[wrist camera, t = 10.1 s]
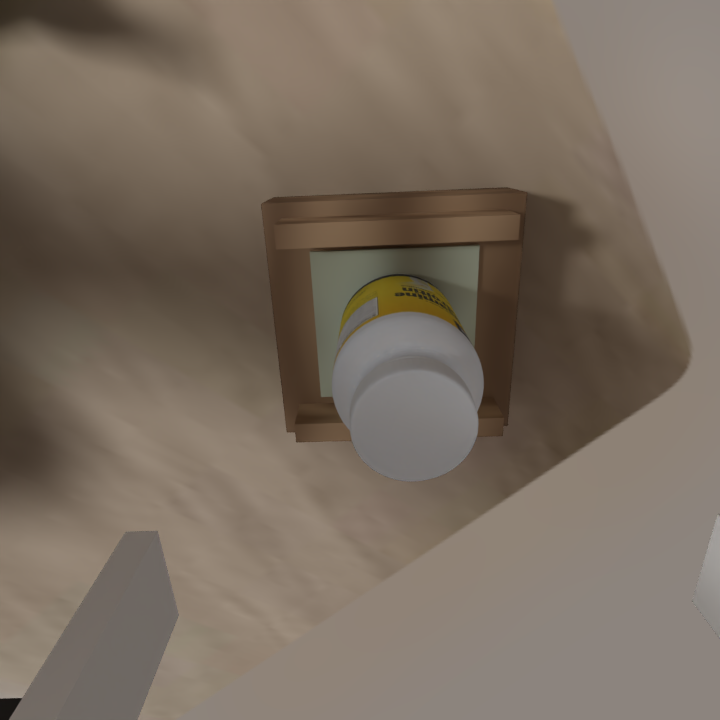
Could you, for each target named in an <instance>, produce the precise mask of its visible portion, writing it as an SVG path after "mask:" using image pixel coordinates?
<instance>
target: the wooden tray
mask: <svg viewBox="0 0 720 720" xmlns="http://www.w3.org/2000/svg"><path fill="white" fill-rule="evenodd" d="M526 200H527V192H523V191H519V190H515V189H511V188H483V189H460V190H436V191H413V192H389V193H365V194H342V195H318V196H295V197H274V198H272V199H270V200H268V201H266V202H264V203H262V204H261V208H262V216H263V225H264V234H265V243H266V252H267V261H268V270H269V278H270V287H271V296H272V305H273V314H274V323H275V332H276V341H277V349H278V358H279V367H280V376H281V385H282V394H283V403H284V412H285V420H286V429H287V432H295V434H296V442H323V441H352V439H351V435H350V430H349V429H348V428H347V427H346V425H345V424H344V423H343V421H342V420H341V418H340V416H339V414H338V412H337V409H336V407H335V403H334V400H333V395H332V374H333V366H334V361H335V355H336V349H337V343H338V337H339V332H340V325H341V320H342V316H343V313H344V310H345V308H346V306H347V304H348V302H349V300H350V299H351V298H352V296H353V295H354V294H355V293H356V292H357V291H358V290H359V289H360V288H361V287H362V286H363V285H365V284H366V283H368V282H370V281H371V280H373V279H376V278H378V277H381V276H384V275H389V274H409V275H413V276H417V277H420V278H422V279H425V280H426V281H428V282H430V283H431V284H433V285H434V286H435V287H437V288H438V289H439V290H440V291H441V292H442V293H443V294H444V296H445V297H446V298H447V300H448V302H449V303H450V305H451V307H452V308H453V311H454V312H455V314H456V316H457V318H458V320H459V322H460V324H461V325H462V327H463V329H464V331H465V333H466V334H467V336H468V338H469V340H470V341H471V343H472V345H473V347H474V349H475V350H476V352H477V355H478V357H479V360H480V363H481V366H482V370H483V378H484V389H483V396H482V400H481V404H480V406H479V409H478V411H477V413H478V434H477V437H487V436H503V426H508V414H509V402H510V390H511V379H512V367H513V355H514V343H515V331H516V319H517V307H518V295H519V283H520V271H521V259H522V248H523V236H524V224H525V212H526Z"/></svg>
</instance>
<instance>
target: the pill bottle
mask: <svg viewBox="0 0 720 720" xmlns="http://www.w3.org/2000/svg"><path fill="white" fill-rule="evenodd" d="M483 389H484V378H483V370H482V366H481V363H480V360H479V357H478V355H477V352H476V350H475V349H474V347H473V345H472V343H471V341H470V340H469V338H468V336H467V334H466V333H465V331H464V329H463V327H462V325H461V324H460V322H459V320H458V318H457V316H456V314H455V312H454V311H453V308H452V307H451V305H450V303H449V302H448V300H447V298H446V297H445V296H444V294H443V293H442V292H441V291H440V290H439V289H438V288H437V287H435V286H434V285H433V284H431V283H430V282H428V281H426V280H425V279H422V278H420V277H417V276H413V275H409V274H389V275H384V276H381V277H378V278H376V279H373V280H371V281H370V282H368V283H366V284H365V285H363V286H362V287H361V288H360V289H359V290H358V291H357V292H356V293H355V294H354V295H353V296H352V298H351V299H350V300H349V302H348V304H347V306H346V308H345V310H344V313H343V316H342V320H341V325H340V332H339V337H338V343H337V349H336V355H335V361H334V366H333V374H332V395H333V400H334V403H335V407H336V409H337V412H338V414H339V416H340V418H341V420H342V421H343V423H344V424H345V425H346V427H347V428H348V429H349V430H350V435H351V439H352V443H353V445H354V448H355V450H356V452H357V453H358V455H359V456H360V457H361V459H362V460H363V461H364V462H365V463H366V464H367V465H368V466H369V467H370V468H371V469H373V470H374V471H376V472H378V473H379V474H382V475H384V476H386V477H389V478H392V479H395V480H400V481H423V480H428V479H432V478H435V477H439V476H441V475H443V474H446V473H447V472H449V471H451V470H452V469H454V468H455V467H456V466H458V465H459V464H460V463H461V462H462V461H463V460H464V459H465V458H466V457H467V455H468V454H469V453H470V451H471V449H472V447H473V445H474V443H475V441H476V437H477V434H478V413H477V411H478V409H479V406H480V404H481V400H482V396H483Z"/></svg>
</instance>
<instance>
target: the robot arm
mask: <svg viewBox="0 0 720 720" xmlns="http://www.w3.org/2000/svg"><path fill="white" fill-rule="evenodd" d="M692 602H693V603H694V605H695V606H696V607H697V609H698V610H699V611H700V613H701V614H702V615H703V617H704V618H705V620H706V621H707V622H708V624H709V625H710V626H711V628H712V629H713V630H714V632H715V633H716V634H717V636H718V637H719V639H720V514H718V515H717V518H716V521H715V525H714V528H713V531H712V535H711V538H710V542H709V545H708V548H707V552H706V555H705V559H704V562H703V566H702V569H701V572H700V576H699V579H698V583H697V586H696V589H695V593H694V596H693V600H692ZM178 616H179V614H178V610H177V606H176V602H175V598H174V594H173V590H172V586H171V582H170V578H169V574H168V570H167V566H166V562H165V558H164V554H163V550H162V546H161V542H160V538H159V534H158V531H137V532H125V534H124V535H123V537H122V539H121V540H120V542H119V543H118V545H117V547H116V548H115V550H114V551H113V553H112V555H111V556H110V558H109V560H108V561H107V563H106V564H105V566H104V568H103V569H102V571H101V572H100V574H99V576H98V577H97V579H96V580H95V582H94V584H93V585H92V587H91V588H90V590H89V592H88V593H87V595H86V597H85V598H84V600H83V601H82V603H81V605H80V606H79V608H78V609H77V611H76V613H75V614H74V616H73V617H72V619H71V621H70V622H69V624H68V626H67V627H66V629H65V630H64V632H63V634H62V635H61V637H60V638H59V640H58V642H57V643H56V645H55V646H54V648H53V650H52V651H51V653H50V654H49V656H48V658H47V659H46V661H45V663H44V664H43V666H42V667H41V669H40V671H39V672H38V674H37V675H36V677H35V679H34V680H33V682H32V683H31V685H30V687H29V688H28V690H27V691H26V693H25V695H24V696H23V698H10V699H0V720H137V719H138V717H139V714H140V712H141V709H142V707H143V704H144V702H145V699H146V696H147V694H148V691H149V689H150V686H151V684H152V681H153V679H154V676H155V674H156V671H157V669H158V666H159V664H160V661H161V659H162V656H163V653H164V651H165V648H166V646H167V643H168V641H169V638H170V636H171V633H172V631H173V628H174V626H175V623H176V621H177V618H178Z"/></svg>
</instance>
